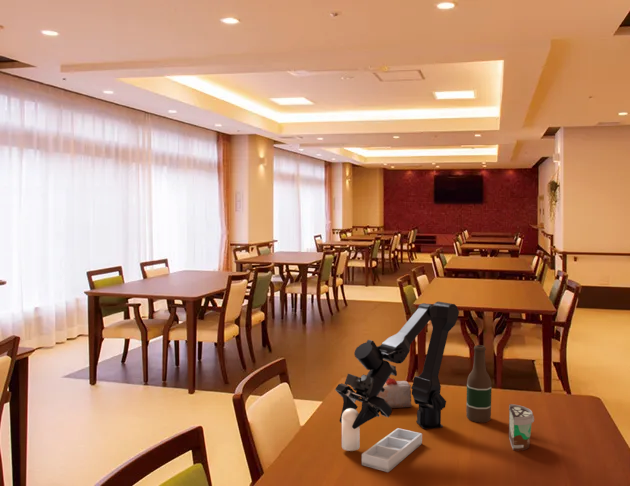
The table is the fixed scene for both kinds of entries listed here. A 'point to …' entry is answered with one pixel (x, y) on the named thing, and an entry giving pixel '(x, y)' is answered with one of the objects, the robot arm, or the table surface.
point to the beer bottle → (479, 389)
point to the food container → (520, 426)
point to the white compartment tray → (391, 449)
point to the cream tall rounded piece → (350, 430)
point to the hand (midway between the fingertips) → (346, 425)
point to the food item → (396, 393)
